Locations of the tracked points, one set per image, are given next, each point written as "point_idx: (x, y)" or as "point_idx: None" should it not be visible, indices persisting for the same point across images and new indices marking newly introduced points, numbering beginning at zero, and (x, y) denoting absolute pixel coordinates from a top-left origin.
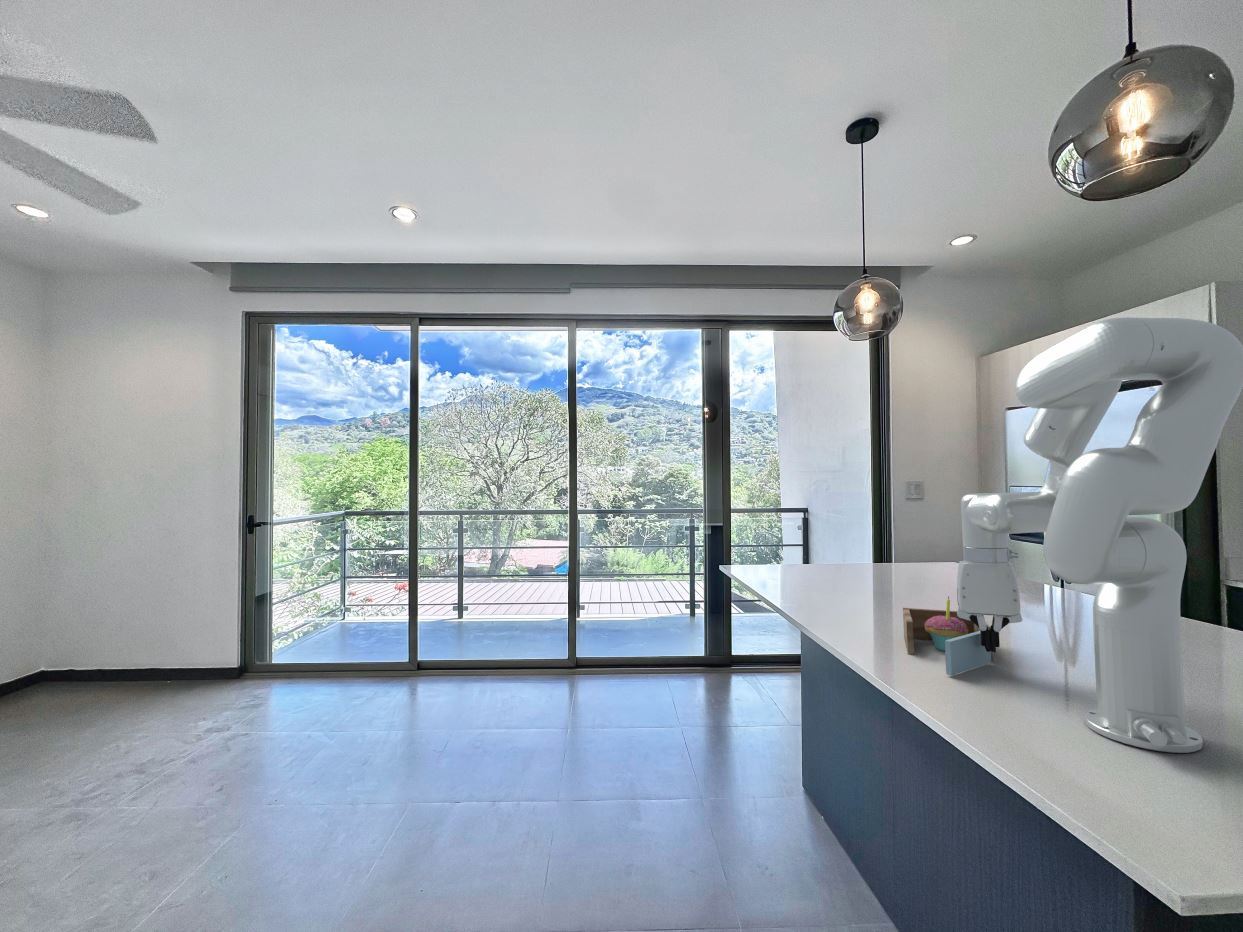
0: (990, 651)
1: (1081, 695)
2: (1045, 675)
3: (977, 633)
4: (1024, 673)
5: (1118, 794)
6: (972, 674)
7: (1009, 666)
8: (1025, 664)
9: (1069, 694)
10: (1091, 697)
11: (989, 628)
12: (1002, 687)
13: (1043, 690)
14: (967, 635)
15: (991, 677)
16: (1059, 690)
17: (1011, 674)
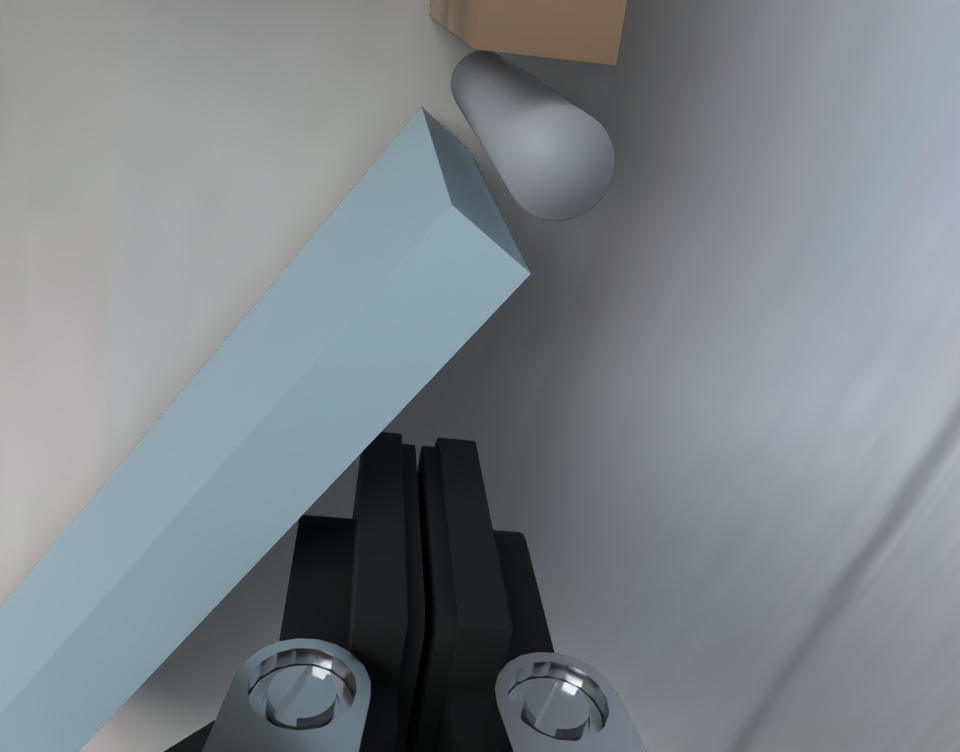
0: (480, 177)
1: (835, 717)
2: (845, 370)
3: (249, 539)
4: (687, 362)
5: None
6: None
7: (640, 162)
8: (852, 29)
9: (771, 722)
10: (874, 731)
11: (593, 55)
12: None
13: (641, 703)
14: (67, 703)
15: None
16: (749, 674)
17: (557, 423)
